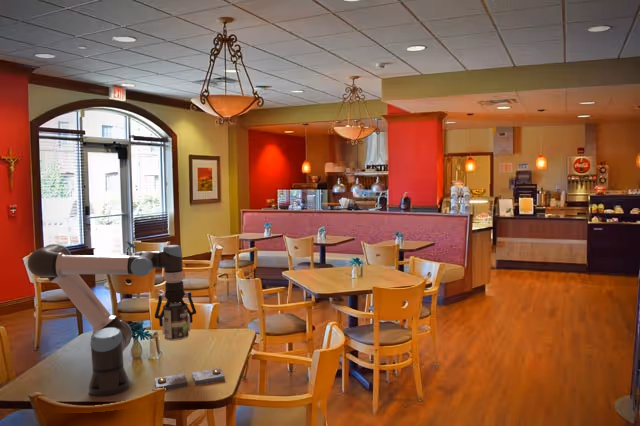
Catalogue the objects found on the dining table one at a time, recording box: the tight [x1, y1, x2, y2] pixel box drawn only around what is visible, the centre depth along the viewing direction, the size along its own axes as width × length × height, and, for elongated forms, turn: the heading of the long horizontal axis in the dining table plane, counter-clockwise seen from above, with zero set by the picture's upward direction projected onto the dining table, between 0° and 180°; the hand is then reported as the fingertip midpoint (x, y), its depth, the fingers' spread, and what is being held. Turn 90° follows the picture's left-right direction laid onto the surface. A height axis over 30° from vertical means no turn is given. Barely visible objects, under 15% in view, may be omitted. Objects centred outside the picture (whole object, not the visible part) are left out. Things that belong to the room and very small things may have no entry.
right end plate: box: [191, 367, 226, 386], centre depth 221 cm, size 12×10×3 cm
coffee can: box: [162, 302, 190, 342], centre depth 228 cm, size 10×10×14 cm
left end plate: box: [154, 373, 189, 391], centre depth 216 cm, size 12×10×3 cm
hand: (176, 331), depth 229 cm, fingers closed on coffee can, 10 cm apart
